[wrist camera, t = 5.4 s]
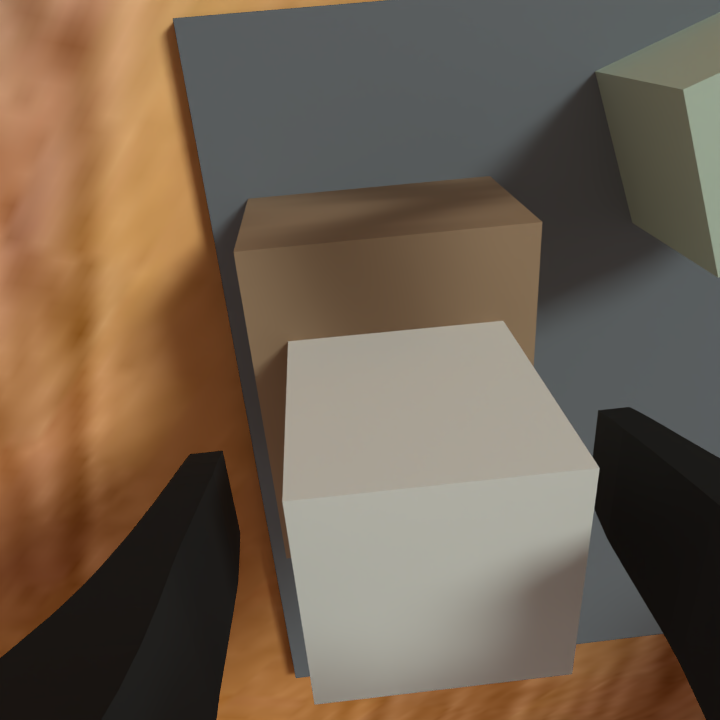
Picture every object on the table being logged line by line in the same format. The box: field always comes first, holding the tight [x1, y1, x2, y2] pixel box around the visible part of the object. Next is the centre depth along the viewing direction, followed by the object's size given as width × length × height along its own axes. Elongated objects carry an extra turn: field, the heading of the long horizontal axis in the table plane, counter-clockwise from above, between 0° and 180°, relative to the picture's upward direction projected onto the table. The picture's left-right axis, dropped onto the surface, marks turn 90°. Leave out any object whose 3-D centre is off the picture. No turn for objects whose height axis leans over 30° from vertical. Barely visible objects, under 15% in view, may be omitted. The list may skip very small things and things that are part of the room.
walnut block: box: [234, 176, 542, 558], centre depth 16 cm, size 6×8×4 cm
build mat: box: [173, 0, 720, 678], centre depth 20 cm, size 15×22×1 cm
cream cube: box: [282, 321, 600, 704], centre depth 12 cm, size 4×4×5 cm
